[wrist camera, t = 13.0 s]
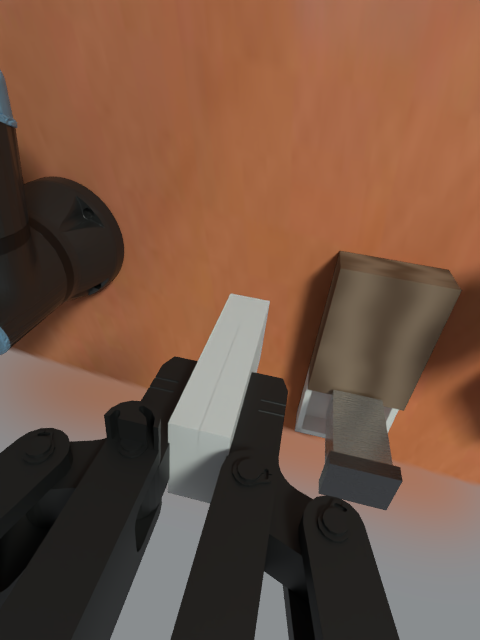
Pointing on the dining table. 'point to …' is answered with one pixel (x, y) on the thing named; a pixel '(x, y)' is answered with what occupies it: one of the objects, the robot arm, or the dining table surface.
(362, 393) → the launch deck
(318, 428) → the grey open tray
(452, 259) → the dining table surface
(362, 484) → the grey block with cap
